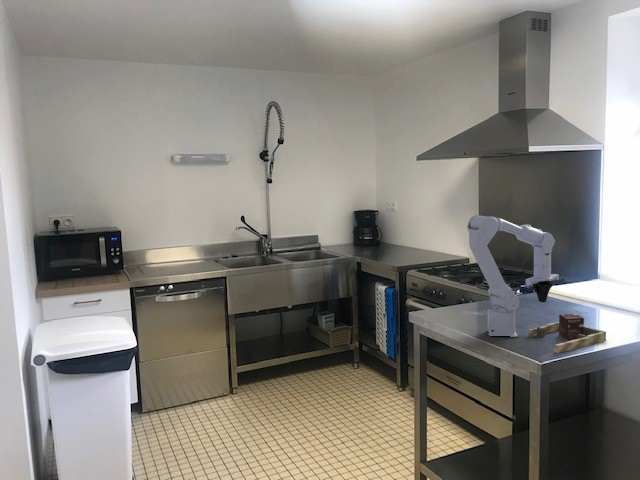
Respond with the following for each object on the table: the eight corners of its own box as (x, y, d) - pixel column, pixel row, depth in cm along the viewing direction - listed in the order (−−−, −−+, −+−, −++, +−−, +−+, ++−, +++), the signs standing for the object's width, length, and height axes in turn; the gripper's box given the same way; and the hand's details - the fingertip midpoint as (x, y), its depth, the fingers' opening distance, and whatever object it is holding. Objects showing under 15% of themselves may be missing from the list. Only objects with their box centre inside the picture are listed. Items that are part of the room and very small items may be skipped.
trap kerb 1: (542, 337, 183) (542, 329, 182) (536, 335, 185) (536, 327, 184) (544, 336, 183) (544, 328, 183) (539, 335, 185) (539, 326, 185)
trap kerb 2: (583, 344, 173) (583, 336, 173) (577, 343, 175) (577, 334, 175) (586, 344, 174) (586, 335, 173) (580, 342, 175) (580, 333, 175)
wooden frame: (557, 353, 166) (557, 344, 166) (515, 339, 182) (515, 331, 181) (605, 340, 176) (606, 331, 176) (562, 328, 191) (562, 320, 191)
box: (566, 339, 179) (566, 318, 178) (558, 334, 185) (558, 314, 184) (584, 339, 179) (584, 318, 178) (576, 333, 185) (576, 313, 184)
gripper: (536, 268, 183) (536, 306, 185) (565, 263, 190) (565, 300, 191) (520, 266, 190) (521, 303, 191) (549, 261, 196) (549, 297, 198)
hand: (542, 301), depth 192 cm, fingers closed
